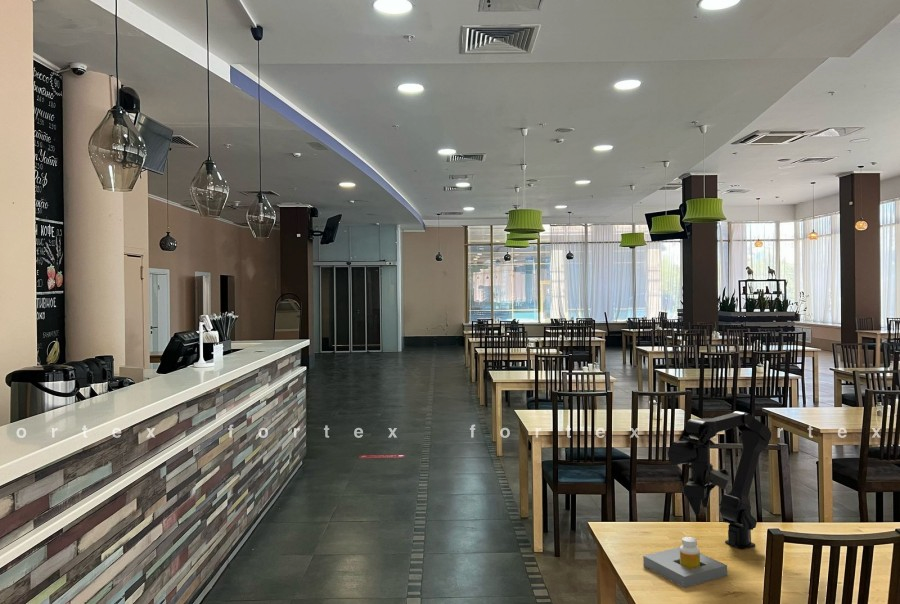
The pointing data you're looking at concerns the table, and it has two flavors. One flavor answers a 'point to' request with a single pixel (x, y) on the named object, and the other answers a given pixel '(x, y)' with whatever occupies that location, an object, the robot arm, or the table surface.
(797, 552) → the table surface
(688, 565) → the supplement bottle
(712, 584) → the table surface
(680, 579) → the holder
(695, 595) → the table surface
